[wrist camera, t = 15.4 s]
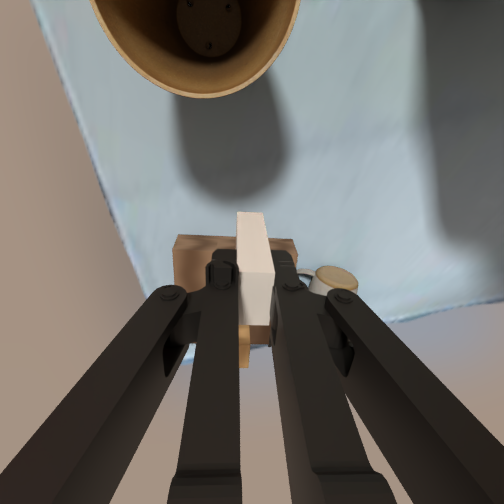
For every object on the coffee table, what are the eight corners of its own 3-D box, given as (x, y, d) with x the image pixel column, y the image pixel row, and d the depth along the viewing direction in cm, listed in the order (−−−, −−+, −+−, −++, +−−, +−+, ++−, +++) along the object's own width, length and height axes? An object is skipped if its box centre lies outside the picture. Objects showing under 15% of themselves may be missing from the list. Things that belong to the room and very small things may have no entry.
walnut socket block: (292, 239, 48) (297, 254, 43) (279, 324, 56) (283, 344, 52) (178, 234, 46) (172, 249, 42) (183, 322, 55) (178, 343, 50)
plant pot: (145, 84, 37) (89, 81, 23) (143, -85, 30) (59, -243, 16) (264, 104, 38) (281, 112, 24) (288, -52, 31) (331, -167, 17)
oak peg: (246, 277, 50) (250, 345, 36) (245, 297, 51) (248, 368, 38) (222, 276, 49) (217, 344, 36) (221, 296, 51) (216, 367, 38)
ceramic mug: (352, 265, 51) (369, 292, 44) (337, 303, 54) (351, 333, 48) (292, 257, 50) (300, 283, 43) (281, 296, 53) (287, 326, 47)
